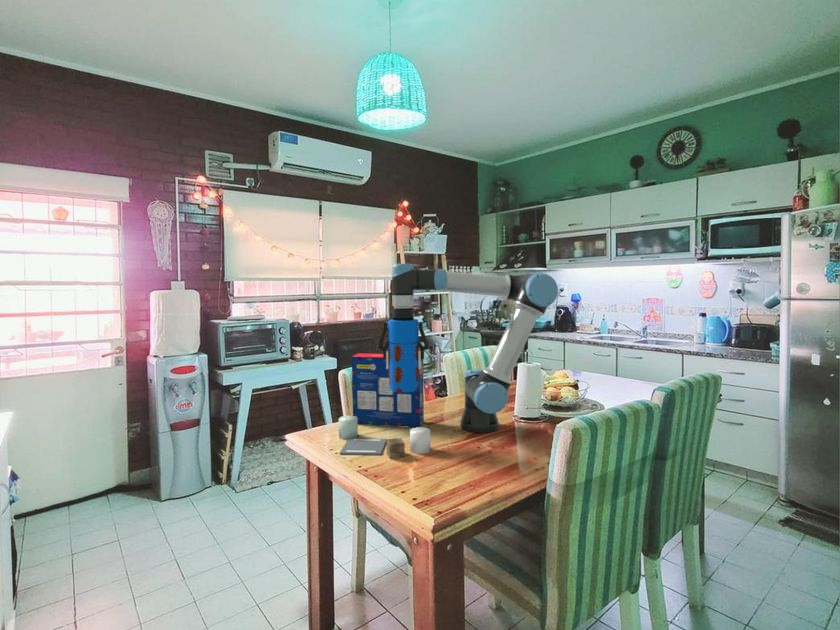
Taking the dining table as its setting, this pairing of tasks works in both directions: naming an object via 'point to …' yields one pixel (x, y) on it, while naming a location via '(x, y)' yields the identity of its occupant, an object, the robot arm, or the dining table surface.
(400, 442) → the walnut block
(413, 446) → the white rounded cylinder
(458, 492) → the dining table surface
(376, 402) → the pasta box
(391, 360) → the thermos
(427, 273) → the robot arm
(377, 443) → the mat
